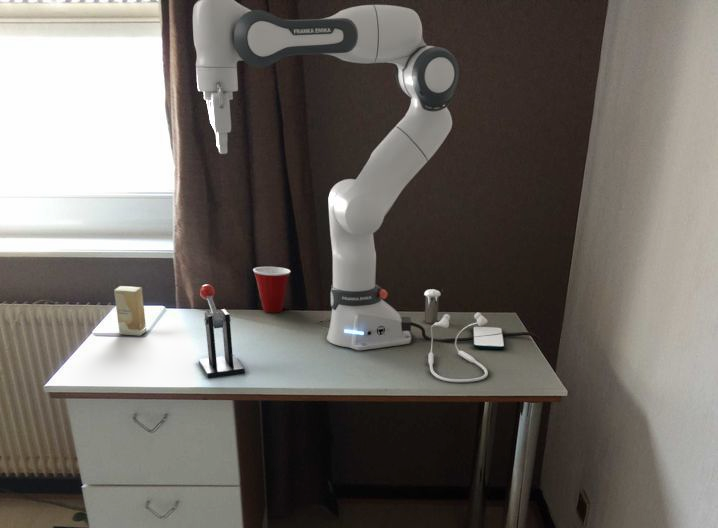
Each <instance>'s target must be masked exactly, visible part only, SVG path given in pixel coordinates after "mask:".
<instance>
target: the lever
mask: <svg viewBox="0 0 718 528" xmlns="http://www.w3.org/2000/svg"><path fill="white" fill-rule="evenodd" d="M215 294H216V290H215V288H214V286H212V285H211V284H203V285H201V287H200V289H199V295H200V297H201V298H202V299H203V300H206V301H207V304H208V306H209V309H210V311H211V312H210V313H211V315H212V316H213V327H214V329H220V328H221V329H223V322H224V320H223V317H222V314H221V311H218V310H217V307H216V303H215V301H214V297H215Z"/></svg>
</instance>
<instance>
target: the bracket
mask: <svg viewBox="0 0 718 528" xmlns="http://www.w3.org/2000/svg"><path fill="white" fill-rule="evenodd" d="M220 312H221V314H222V317H223V320H224V322H223V328H222V338H223V340H222V341H223V351H224V352H223V353H224V355H222V356H217V351H216V340H215V328H214V326H213V316H212V313H211V312H210V310H204V312H203V313H204V318H203V320H204V321H203V322H204V325H205V333H206V343H207V352H208V353H207V355H208V357H206V358H198V365H199V366H200V368H201V369H202V371H203V373H204V374H205V376H206V377H207V379H211V378H212V379H213V378H219V377H225V376H232V375H240V374H245V373H246V371H245V367H244V366H243V365H242V363H241V362H240V360H239V359H238V358H237V357H236V355H235V354H234V353H233V341H232V331H231V330H232V329H231V328H232V327H231V320H232V319H231V316H230V313H229V312H228V311H227V309H226V308H223V309H222V308H221V309H220Z"/></svg>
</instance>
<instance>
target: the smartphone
mask: <svg viewBox="0 0 718 528" xmlns="http://www.w3.org/2000/svg"><path fill="white" fill-rule="evenodd" d="M500 333H503V329H502V327H496V326H495V327H493V326H492V327H491V326H473V327H472V337H474V338H473V340H472V342H473V346H472V347H474V348H475V349H485V350H487V349H488V350H504V349H505V341H504V336H503V334H500ZM493 334H498V335H493ZM485 335H490V336H485ZM476 336H481V337H476Z"/></svg>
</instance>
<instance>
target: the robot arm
mask: <svg viewBox="0 0 718 528" xmlns="http://www.w3.org/2000/svg"><path fill="white" fill-rule="evenodd" d="M192 32H193V33H192V35H193V44H194V45H193V46H194V48H195V52H196V61H195V72H196V83H197V91H198V92H203V99H204V100H205V101H206V106H207V111H208V117H209V123H210V124H211V126H212V129H213V130H214V134H215V140H216V147H217V149H218V153H219V154H221V155H226V154H228V152H229V151H228V139H229V138H228V133H231V132H232V120H231V119H232V116H231V105H230V101H231V100H233V99H234V96H233V94H234V93H233V92H239V82H238V81H239V80H238V68H237V67H238V62H239V61H243V62H245V64H247V65H249V66H250V67H254V68H266V67H269V66H272V65H273V64H275V63H276V62H278V61H280V60H281V59H283V58H285V57H291V56H305V55H327V56H328V55H329V56H333V57H335V58H338V59H339V60H341V61H344V62H348V63H355V64H384V63H388V64H392V67H393V71H394V75H395V79H396V83H397V86H398V88H399V89H400V91H401V93H403V95H405V96H406V97H408V98H410V105H409V108H408V110H407V112H406V113H405V115H404V116H403V117H402V119H401V120H399V122H398V123H397V124H396V125H395V126H394V127H393V128H392V129H391V130H390V131H389V132H388V134H387V135H386V136H385V137H384V138H383V140H381V142H380V143H379V144H378V145H377V146H376V148H375V149H374V150H372V152H371V154H370V156H369V158H368V160H367V162H366V163H365V165H364V166H363V168H362V170H361V171H360V173H359V174H358V176H357V177H356V178H355V179H354V178H346V179H342V180H341V181H337V183H335V184H334V185H333V186H332V188H331V189H330V191H329V195H328V199H327V201H328V219H329V233H330V242H331V243H330V244H331V252H332V253H331V254H332V284H331V286H330V307H331V316H330V322H329V328H328V332H327V336H326V340H327V341H328V342H329V343H330V344H332V345H335V346H339V347H344V348H350V349H352V350H355V351H369V350H374V349H382V348H387V347H396V346H402V345H409V344H410V343H411V342H412V334H411V333H410V332H411V331H412V330H411V329H412V327H415V328H418V329H419V330H420V331H421V335H422V338H423V339H425V340H426V341H431V342H432V337H429V336H428V335H426V330H425V327H424V326H422V325H420V324H419V323H416V322H413V321H412V319H411V317H410V316H401V314H400V313H399V312H398V311H397V310H396V309H395V308H394V307H393V306H391V305H390V304H389V303H388V302H386V301H385V300H384V299H387V298H388V295H389V294H388V293H389V292H387V290H386V289H384V288H382V287H381V286H379V285H378V284H376V277H377V275H376V273H377V251H376V247H375V239H374V233H376V232H377V231H378V230H379V229H380V227H381V226H382V224H383V222H384V219H385V217H386V215H387V214H388V213H389V211H390V210H391V209H392V207H393V205H394V204H395V202H396V200H397V199H398V197H399V196H400V195H401V193H402V191H403V190H404V189H405V187H406V186H407V185H408V184H409V183H410V182H411V181H412V179H414V178H415V176H416V175H418V173H419V172H420V171H421V169H423V167H424V166H425V165H426V164H427V163H428V162H429V161H430V160H431V158H432V157H433V156H434V155H435V154H436V153H437V151H438V150H439V148H441V145H442V144H443V143H444V141H445V140H446V138H447V136H448V135H449V133H450V132H451V130H452V127H453V119H452V114H451V112H450V110H449V108H448V107H449V106H450V105H451V102H452V99H453V95H454V92H455V89H456V87H457V85H458V81H459V76H460V70H459V64H458V61H457V59H456V58H455V56H454V55H453V54H452V53H451V51H449V50H447V49H446V48H444V47H442V46H441V47H440V46H434V45H428V44H427V43H426V42H425V41H424V37H423V24H422V21H421V19H420V16H419V14H418V13H417V12H416V11H415V10H414V9H411V8H408V7H406V6H405V7H404V6H400V5H399V6H398V5H390V4H365V5H363V4H362V5H358V6H352V7H348V8H345V9H342V10H340V11H338V12H337V13H335V14H333V15H331V16H328V17H324V18H313V19H312V18H309V19H284V18H281V17H278V16H276V15H274V14H273V13H270V12H268V11H265V10H262V9H253V10H252V9H249V8H248V7H246V6H244V5H242V4H241V3H239V2H237V1H236V0H197V1H196V2H195V3H194V5H193V9H192ZM500 334H503V337H520V336H529V337H531V338H534V339H535V340H536V341H541V340H542V339H541V338H540V337H539V336H538V335H537V334H535V333H533V332H530V331H520V332H519V331H518V332H502V333H500ZM493 335H498V334H493ZM485 336H490V335H485ZM476 337H481V336H476ZM473 338H474V337H473V336H469V337H458V338H457V341H456V342H470V341H473ZM455 340H456V337H451V338H440V339H439V338H436V339H435V338H433V342H439V343H452V342H454V343H455Z"/></svg>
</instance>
